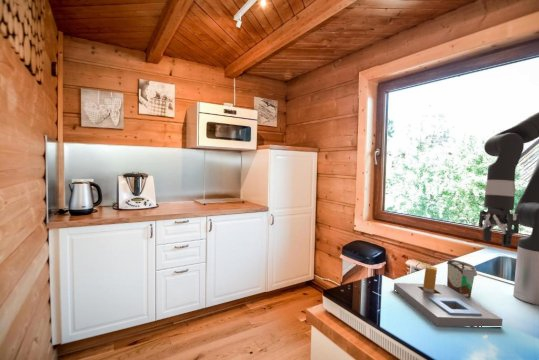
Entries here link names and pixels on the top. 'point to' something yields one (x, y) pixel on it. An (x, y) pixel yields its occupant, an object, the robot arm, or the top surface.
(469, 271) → the food container
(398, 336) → the top surface
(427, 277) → the supplement box
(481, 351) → the top surface
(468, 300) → the board
